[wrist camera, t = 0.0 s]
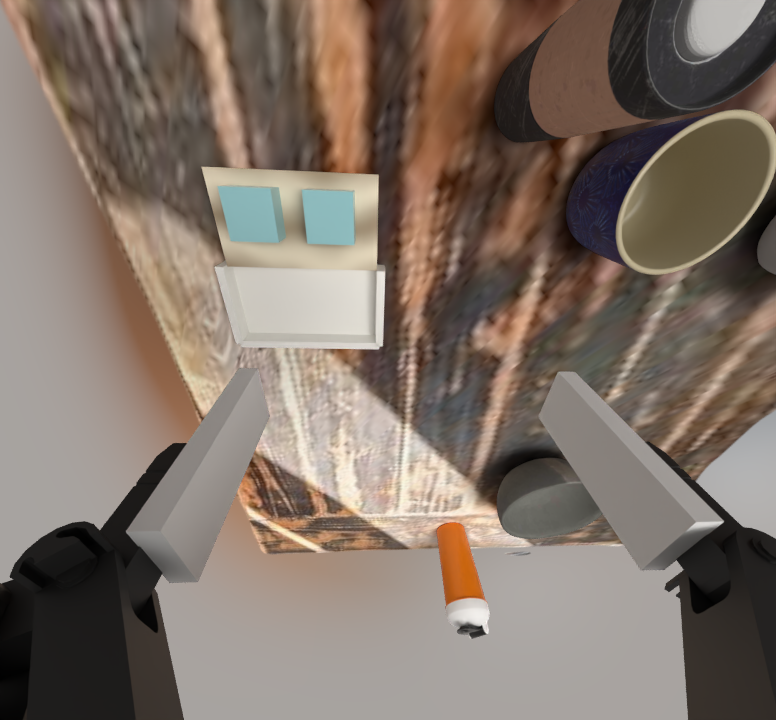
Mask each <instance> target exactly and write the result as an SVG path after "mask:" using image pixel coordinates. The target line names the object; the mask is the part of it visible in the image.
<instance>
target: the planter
mask: <svg viewBox="0 0 776 720" xmlns="http://www.w3.org/2000/svg"><path fill="white" fill-rule="evenodd" d="M775 169H776V134H775V132H774V129H773V128H772V126H771V125H770V123H769V122H768V121H767V120H766V119H765V118H764V117H762V116H761V115H759V114H757V113H754V112H752V111H747V110H727V111H722V112H718V113H713V114H708V115H704V116H699V117H694V118H689V119H685V120H680V121H676V122H671V123H667V124H662V125H658V126H654V127H651V128H647V129H643V130H640V131H637V132H634V133H632V134H629V135H626V136H624V137H622V138H620V139H618V140H616V141H614V142H612V143H611V144H609V145H607V146H606V147H605V148H603V149H602V150H601V151H599V152H598V153H597V154H596V155H595V156H594V157H593V158H592V159H591V160H590V161H589V162H588V163H587V164H586V165H585V167H584V168H583V169H582V170H581V172H580V173H579V175H578V177H577V178H576V180H575V182H574V184H573V186H572V188H571V191H570V194H569V197H568V201H567V207H566V219H567V224H568V227H569V230H570V232H571V234H572V235H573V237H574V238H575V239H576V240H577V241H578V242H579V243H580V244H581V245H583V246H584V247H586V248H587V249H589V250H591V251H593V252H594V253H596V254H598V255H601V256H603V257H605V258H607V259H609V260H612V261H614V262H616V263H619V264H621V265H623V266H626V267H628V268H630V269H633V270H635V271H637V272H640V273H644V274H651V275H660V274H667V273H672V272H676V271H679V270H682V269H685V268H687V267H690V266H692V265H694V264H696V263H698V262H700V261H702V260H703V259H705V258H707V257H708V256H710V255H711V254H713V253H714V252H716V251H717V250H718V249H720V248H721V247H722V246H723V245H725V244H726V243H727V242H728V241H729V240H730V239H731V238H732V237H733V236H734V235H736V234H737V233H738V232H739V230H740V229H741V228H742V227H743V226H744V225H745V224H746V223H747V221H748V220H749V219H750V218H751V216H752V215H753V214H754V212H755V211H756V209H757V208H758V206H759V205H760V203H761V202H762V200H763V198H764V196H765V194H766V193H767V191H768V188H769V186H770V184H771V181H772V179H773V176H774V173H775Z"/></svg>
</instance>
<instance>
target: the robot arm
mask: <svg viewBox="0 0 776 720" xmlns="http://www.w3.org/2000/svg"><path fill="white" fill-rule="evenodd" d="M269 417H270V415H269V411H268V407H267V403H266V399H265V395H264V391H263V387H262V383H261V379H260V375H259V371H258V368H239V369H238V371H237V372H236V373H235V375H234V376H233V378H232V379H231V381H230V382H229V384H228V385H227V386H226V388H225V389H224V391H223V392H222V394H221V395H220V397H219V398H218V399H217V401H216V402H215V404H214V405H213V407H212V408H211V409H210V411H209V412H208V414H207V415H206V417H205V418H204V420H203V421H202V422H201V424H200V425H199V427H198V428H197V430H196V431H195V432H194V434H193V435H192V437H191V438H190V440H189V441H188V443H173V444H172V445H170V446H169V447H168V448H167V449H165V450H164V451H163V452H162V453H160V454H159V455H158V456H157V457H156V458H155V459H154V461H153V462H152V463H151V465H150V466H149V467H148V469H147V470H146V473H145V474H143V475H142V476H141V478H140V479H139V480H138V482H137V485H136V486H134V487H133V488H132V489H131V491H130V492H129V493H128V495H127V496H126V497H125V499H124V500H123V501H122V502H121V504H120V505H119V506H118V508H117V509H116V510H115V512H114V513H113V514H112V516H111V517H110V518H109V519H108V521H107V522H106V523H105V524H104V526H103V527H102V528H101V530H99V529H97V527H96V526H95V525H94V524H91V523H88V522H85V521H84V522H75V523H71V524H68V525H65V526H62V527H60V528H57V529H55V530H54V531H52V532H50V533H48V534H47V535H45V536H43V537H42V538H40V539H39V540H38V541H37V542H36V543H34V544H33V545H32V546H31V547H29V548H28V549H27V550H26V551H25V552H24V553H23V554H22V556H21V557H20V558H19V559H18V561H17V562H16V563H15V565H14V567H13V569H12V572H11V574H10V578H12V579H14V580H11V581H8V582H5V583H2V584H1V583H0V720H184V718H183V713H182V708H181V704H180V699H179V694H178V689H177V685H176V680H175V675H174V670H173V666H172V661H171V656H170V651H169V647H168V642H167V637H166V632H165V628H164V623H163V618H162V613H161V609H160V605H159V599H158V594H157V592H156V590H155V589H154V588H155V586H156V584H157V582H158V580H159V578H160V577H161V575H162V574H163V576H164V577H165V578H166V579H167V580H168V581H169V583H179V582H198V581H199V578H200V576H201V574H202V571H203V569H204V567H205V564H206V562H207V560H208V557H209V555H210V553H211V551H212V548H213V546H214V543H215V541H216V539H217V536H218V534H219V532H220V530H221V527H222V525H223V523H224V521H225V518H226V516H227V514H228V511H229V509H230V507H231V504H232V502H233V500H234V497H235V495H236V493H237V490H238V488H239V486H240V484H241V481H242V479H243V477H244V474H245V472H246V470H247V467H248V465H249V463H250V460H251V458H252V456H253V454H254V451H255V449H256V447H257V444H258V442H259V440H260V437H261V435H262V433H263V430H264V428H265V426H266V423H267V421H268V419H269ZM539 419H540V420H541V422H542V423H543V425H544V426H545V428H546V429H547V431H548V432H549V434H550V435H551V437H552V438H553V440H554V441H555V443H556V444H557V446H558V447H559V449H560V450H561V452H562V453H563V455H564V456H565V458H566V459H567V461H568V462H569V464H570V465H571V467H572V468H573V470H574V471H575V473H576V474H577V476H578V477H579V479H580V480H581V482H582V483H583V485H584V486H585V488H586V489H587V491H588V492H589V494H590V495H591V497H592V498H593V500H594V501H595V503H596V504H597V506H598V507H599V509H600V510H601V512H602V513H603V515H604V516H605V518H606V519H607V521H608V522H609V524H610V525H611V527H612V528H613V530H614V531H615V533H616V534H617V536H618V537H619V539H620V540H621V542H622V543H623V545H624V546H625V547H626V549H627V550H628V552H629V553H630V555H631V556H632V558H633V559H634V561H635V562H636V564H637V565H638V567H639V568H640V570H665V569H666V568H667V567H668V566H670V565H671V564H672V563H673V562H675V561H676V560H677V561H678V563H679V564H680V565H681V566H682V568H683V569H684V570H683V571H682V572H681V573H679V574H678V575H677V576H675V577H674V578H673V579H671V580H670V581H669V582H667V583H666V586H665V590H667V591H668V592H670V591H671V590H673V589H674V588H675V587H677V586H678V585H679V587H680V592H679V593H678V594H677V595H676V596H677V597H678V598H680V602H681V617H682V633H683V648H684V662H685V677H686V693H687V708H688V720H776V539H775V538H773V537H771V536H770V535H768V534H766V533H764V532H761V531H758V530H756V529H752V528H744V527H742V526H741V525H740V524H739V523H738V522H737V521H736V520H735V519H734V518H733V517H732V516H731V515H729V513H728V512H726V511H725V510H724V509H723V508H722V507H721V506H720V505H719V504H718V503H717V502H716V501H715V500H714V499H713V498H712V497H711V496H710V495H709V494H708V493H707V492H706V491H705V490H704V489H703V488H702V487H700V485H698V484H697V483H696V482H695V481H694V480H691V477H690V476H689V475H688V474H687V473H686V472H685V471H684V470H683V469H680V466H679V465H678V464H677V463H676V462H675V461H674V460H673V459H672V458H671V457H669V456H668V455H667V454H666V453H665V452H664V451H662V450H661V449H659V448H658V447H656V446H655V445H653V444H652V443H650V442H644V441H643V440H642V439H641V438H640V437H639V436H638V435H637V434H636V433H635V432H634V431H633V430H632V429H631V428H630V427H629V426H628V425H627V424H626V423H625V422H624V421H623V420H622V419H621V418H620V417H619V416H618V415H617V414H616V413H615V412H614V411H613V410H612V409H611V408H610V407H609V406H608V405H607V404H606V403H605V402H604V401H603V400H602V399H601V398H600V397H599V396H598V395H597V394H596V393H595V392H594V391H593V390H592V389H591V388H590V387H589V386H588V385H587V384H586V383H585V382H584V381H583V380H582V379H581V378H580V377H579V376H578V375H577V374H576V373H575V372H558V373H557V376H556V378H555V380H554V382H553V385H552V387H551V389H550V391H549V394H548V396H547V398H546V401H545V403H544V405H543V407H542V410H541V412H540V414H539Z"/></svg>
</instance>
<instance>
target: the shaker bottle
mask: <svg viewBox="0 0 776 720" xmlns="http://www.w3.org/2000/svg"><path fill="white" fill-rule="evenodd" d="M437 538H438V546H439V553H440V562H441V569H442V577H443V585H444V593H445V600H446V607H445V609H446V614H447V619H448V621H449V622H450V623H451V624H452V625H453V626H454V627H456V628H459V629H458V630H457V633H458V634H463V635H469V637H470V638H471V639H473V638H476V637H479V636H483V635H486V634H488V633H489V628H488V624H487V621H488V619H489V616H490V612H489V608H488V603H487V601H486V600H485V597H484V594H483V590H482V587H481V583H480V580H479V577H478V573H477V570H476V567H475V563H474V560H473V557H472V553H471V550H470V546H469V543H468V540H467V536H466V533H465V529H464V527H463V526H462V525H461V524H458V523H447V524H444V525H442V526H440V527H439V528H438V529H437Z"/></svg>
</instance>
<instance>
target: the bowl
mask: <svg viewBox="0 0 776 720" xmlns="http://www.w3.org/2000/svg"><path fill="white" fill-rule="evenodd" d="M497 512H498V516H499V520H500V523H501V525H502V527H503V529H504V530H505V531H506V532H507V533H509V534H510V535H512V536H515V537H519V538H525V539H540V538H547V537H553V536H558V535H562V534H566V533H569V532H572V531H576V530H578V529H580V528H583V527H585V526H587V525H588V524H590V523H592V522H593V521H595V520H596V519H598V518H599V517H600V516H601V515H602V514H603V513H602V512H601V510H600V509H599V507H598V506H597V504H596V503H595V501H594V500H593V498H592V497H591V495H590V494H589V492H588V491H587V489H586V488H585V486H584V485H583V483H582V482H581V480H580V479H579V477H578V476H577V474H576V473H575V471H574V470H573V468H572V467H571V465H570V464H569V462H568V461H567V460H564V459H559V458H543V459H535V460H532V461H529V462H526V463H523V464H521V465H519V466H517V467H516V468H514V469H512V470H511V471H510V472H509V473H508V474H507V475H506V476H505V477H504V479H503V481H502V482H501V485H500V487H499V490H498V495H497Z"/></svg>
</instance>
